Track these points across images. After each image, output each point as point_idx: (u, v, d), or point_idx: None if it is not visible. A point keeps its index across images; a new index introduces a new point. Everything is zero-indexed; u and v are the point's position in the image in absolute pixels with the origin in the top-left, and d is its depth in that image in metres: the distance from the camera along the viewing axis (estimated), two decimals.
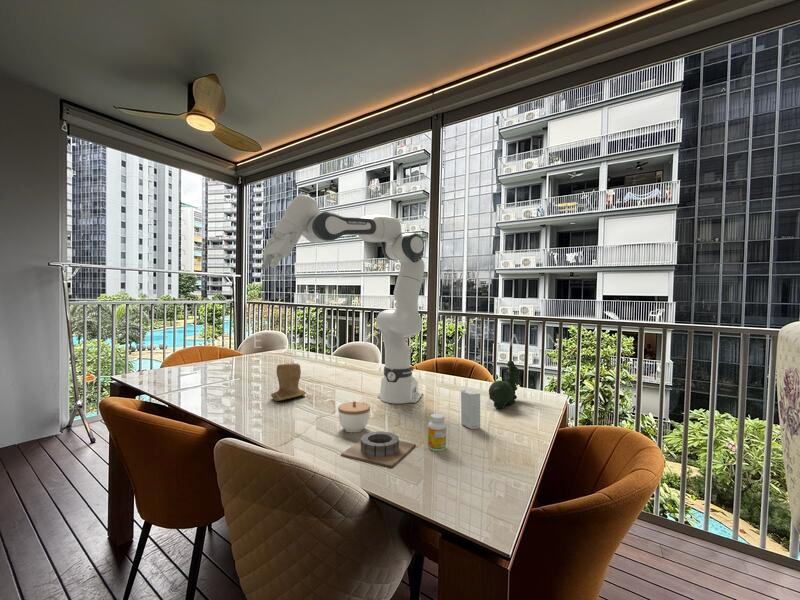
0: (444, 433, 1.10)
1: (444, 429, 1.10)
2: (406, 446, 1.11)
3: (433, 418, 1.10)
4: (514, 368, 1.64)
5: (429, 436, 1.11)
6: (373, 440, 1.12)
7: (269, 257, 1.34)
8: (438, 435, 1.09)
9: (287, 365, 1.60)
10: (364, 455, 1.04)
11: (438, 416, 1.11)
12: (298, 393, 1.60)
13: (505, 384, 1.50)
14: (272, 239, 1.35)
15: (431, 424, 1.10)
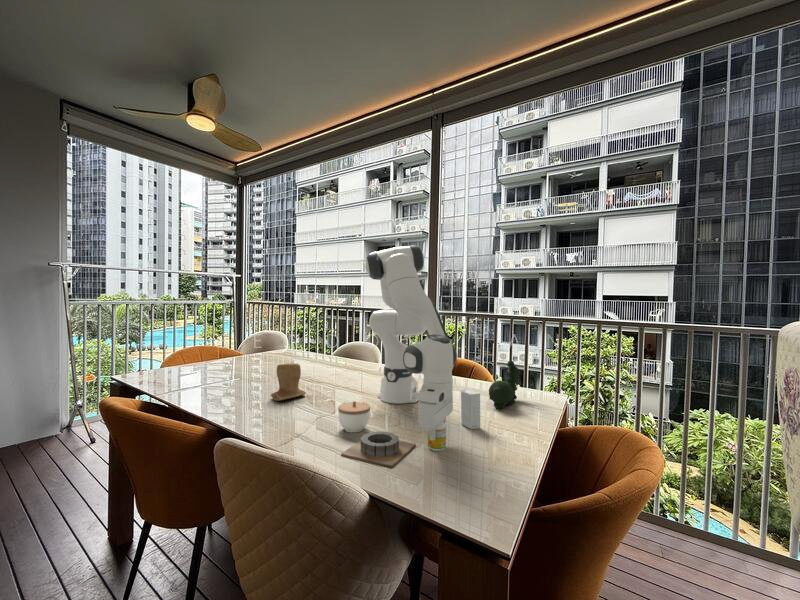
0: (444, 433, 1.10)
1: (444, 429, 1.10)
2: (406, 446, 1.11)
3: None
4: (514, 368, 1.64)
5: None
6: (373, 440, 1.12)
7: None
8: (438, 435, 1.09)
9: (287, 365, 1.60)
10: (364, 455, 1.04)
11: None
12: (298, 393, 1.60)
13: (505, 384, 1.50)
14: (438, 405, 1.06)
15: None
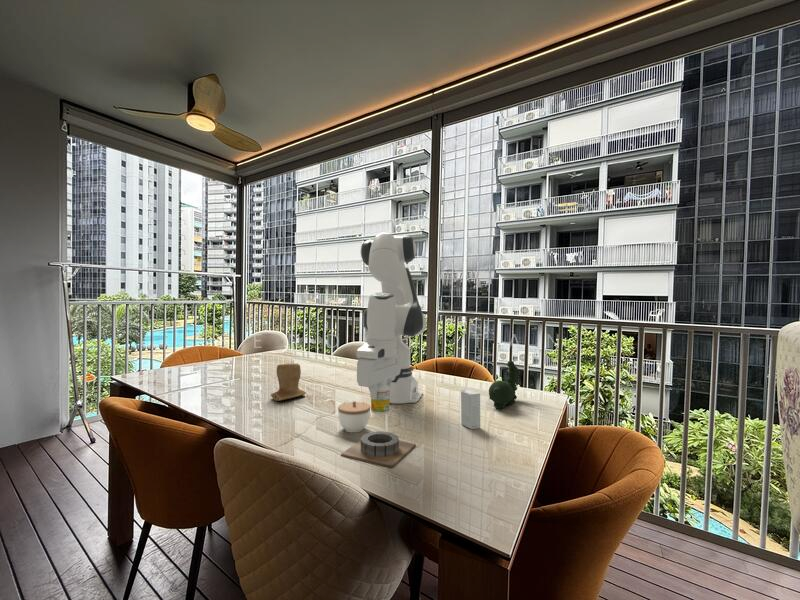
0: (387, 396, 1.07)
1: (386, 391, 1.07)
2: (406, 446, 1.11)
3: None
4: (514, 368, 1.64)
5: (371, 399, 1.07)
6: (373, 440, 1.12)
7: None
8: (380, 398, 1.06)
9: (287, 365, 1.60)
10: (364, 455, 1.04)
11: None
12: (298, 393, 1.60)
13: (505, 384, 1.50)
14: (378, 362, 1.03)
15: None
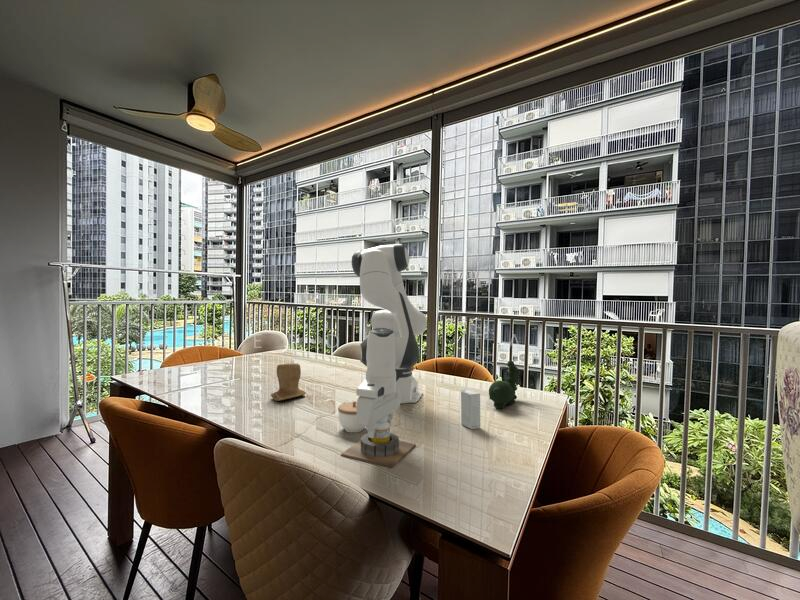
0: (387, 433, 1.07)
1: (387, 429, 1.07)
2: (406, 446, 1.11)
3: None
4: (514, 368, 1.64)
5: None
6: None
7: None
8: (380, 436, 1.06)
9: (287, 365, 1.60)
10: (364, 455, 1.04)
11: None
12: (298, 393, 1.60)
13: (505, 384, 1.50)
14: (378, 400, 1.03)
15: None
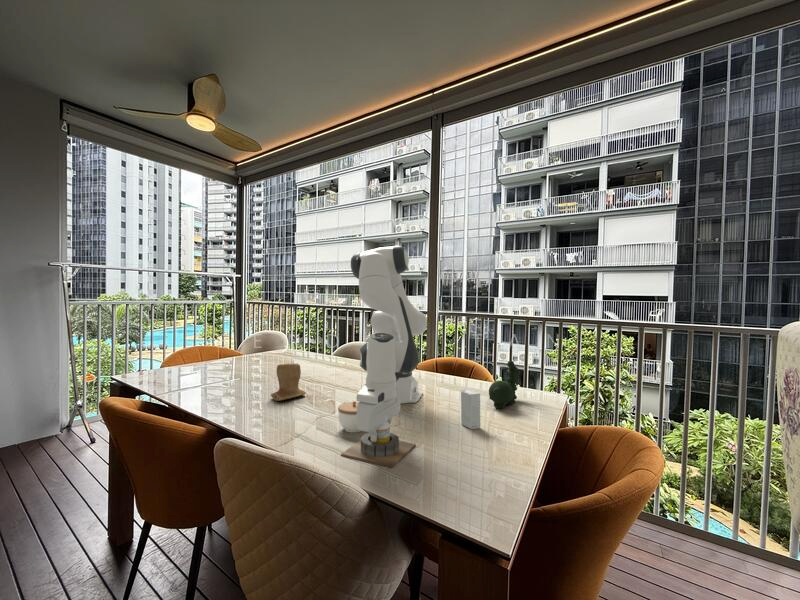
0: (387, 433, 1.07)
1: (387, 429, 1.07)
2: (406, 446, 1.11)
3: None
4: (514, 368, 1.64)
5: None
6: None
7: None
8: (380, 436, 1.06)
9: (287, 365, 1.60)
10: (364, 455, 1.04)
11: None
12: (298, 393, 1.60)
13: (505, 384, 1.50)
14: (378, 406, 1.03)
15: None
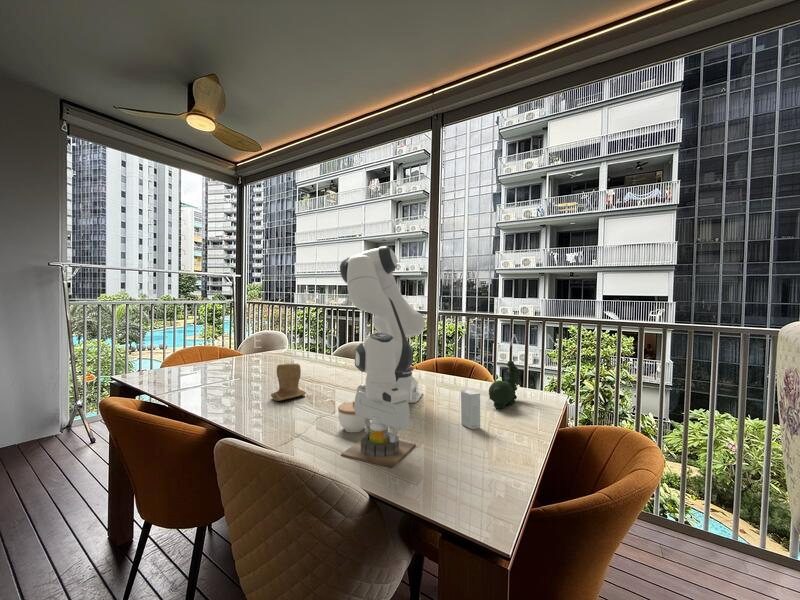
0: None
1: None
2: (406, 446, 1.11)
3: None
4: (514, 368, 1.64)
5: (376, 440, 1.06)
6: None
7: None
8: (386, 435, 1.07)
9: (287, 365, 1.60)
10: (364, 455, 1.04)
11: None
12: (298, 393, 1.60)
13: (505, 384, 1.50)
14: None
15: (378, 426, 1.06)
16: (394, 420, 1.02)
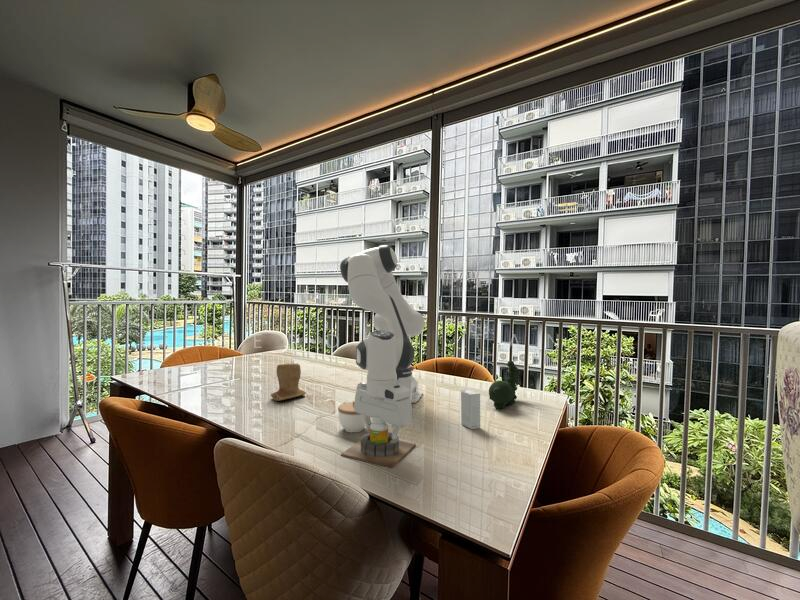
0: None
1: None
2: (406, 446, 1.11)
3: None
4: (514, 368, 1.64)
5: (382, 439, 1.06)
6: None
7: None
8: None
9: (287, 365, 1.60)
10: (364, 455, 1.04)
11: None
12: (298, 393, 1.60)
13: (505, 384, 1.50)
14: None
15: (383, 426, 1.06)
16: (397, 417, 1.03)
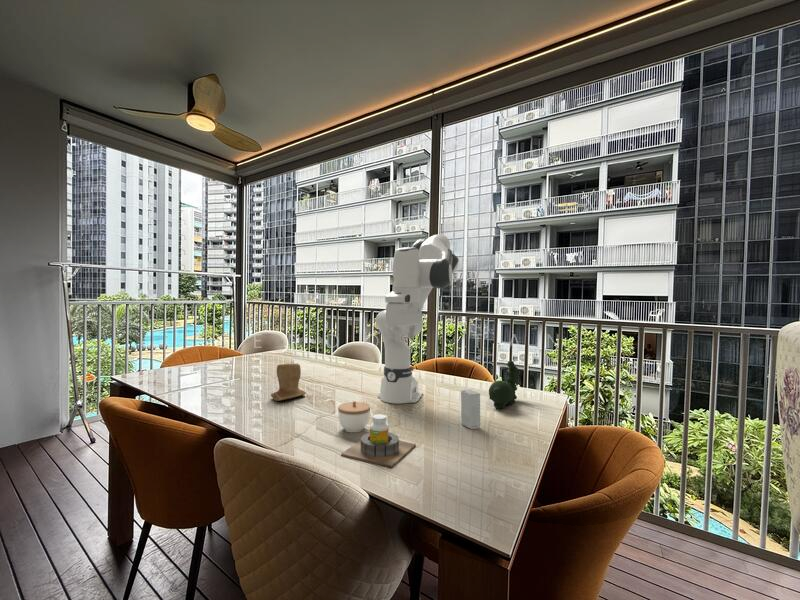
0: None
1: None
2: (406, 446, 1.11)
3: (384, 419, 1.07)
4: (514, 368, 1.64)
5: (382, 439, 1.06)
6: None
7: None
8: None
9: (287, 365, 1.60)
10: (364, 455, 1.04)
11: (383, 416, 1.08)
12: (298, 393, 1.60)
13: (505, 384, 1.50)
14: (405, 307, 1.15)
15: (383, 426, 1.06)
16: None
